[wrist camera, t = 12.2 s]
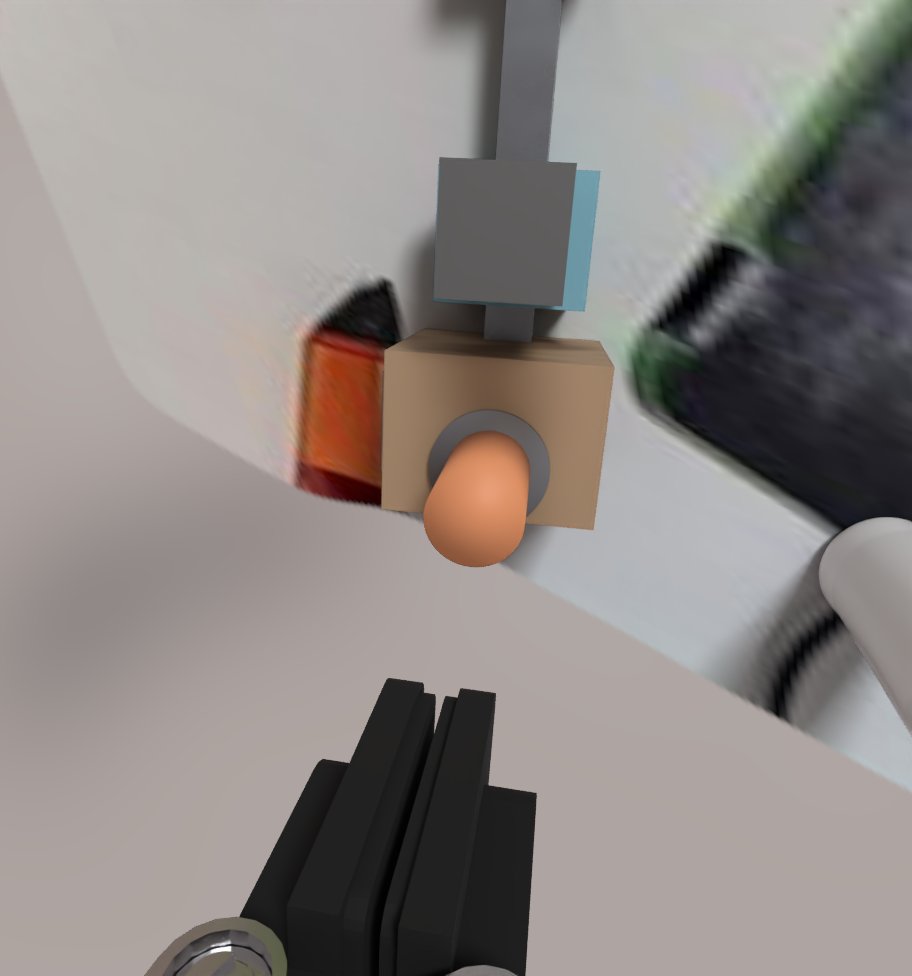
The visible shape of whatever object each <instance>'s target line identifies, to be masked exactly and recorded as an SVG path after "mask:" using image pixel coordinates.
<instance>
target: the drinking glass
mask: <svg viewBox="0 0 912 976" xmlns="http://www.w3.org/2000/svg"><path fill="white" fill-rule="evenodd" d="M819 583H820V587H821V590H822V593H823V595H824V597H825V598H826V600H827V602H828V603H829V604H830V606H831V607H832V608H833V609H834V611H835V612H836V613H837V614H838V616H839V617H840V618H841V620H842V622H843V623H844V625H845V626H846V628H847V630H848V631H849V633H850V635H851V636H852V638H853V640H854V641H855V643H856V645H857V646H858V648H859V650H860V651H861V653H862V655H863V656H864V658H865V660H866V661H867V663H868V665H869V666H870V668H871V670H872V671H873V673H874V675H875V676H876V678H877V680H878V681H879V683H880V685H881V687H882V688H883V690H884V692H885V693H886V695H887V697H888V698H889V700H890V702H891V704H892V705H893V707H894V709H895V710H896V712H897V714H898V715H899V717H900V719H901V720H902V722H903V724H904V725H905V727H906V729H907V730H908V732H909V734H910V735H911V737H912V522H911V521H908V520H905V519H900V518H893V517H880V518H873V519H868V520H864V521H861V522H859V523H856V524H854V525H852V526H850V527H848V528H847V529H845V530H844V531H842V532H841V533H840V534H839V535H837V536H836V537H835V538H834V539H833V540H832V542H831V543H830V544H829V545H828V547H827V548H826V550H825V552H824V554H823V556H822V558H821V562H820V566H819Z"/></svg>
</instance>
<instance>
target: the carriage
mask: <svg viewBox="0 0 912 976" xmlns="http://www.w3.org/2000/svg"><path fill="white" fill-rule="evenodd" d="M576 167H577V163H561V162H538V161H514V160H491V159H467V158H443V157H440V159H439V166H438V190H437V213H436V237H435V261H434V285H433V302H447V303H463V304H478V305H493V306H508V307H524V308H539V309H554V310H570V311H585V305H586V296H587V287H588V278H589V269H590V260H591V251H592V242H593V233H594V224H595V215H596V206H597V197H598V188H599V179H600V171H589V170H576Z"/></svg>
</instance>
